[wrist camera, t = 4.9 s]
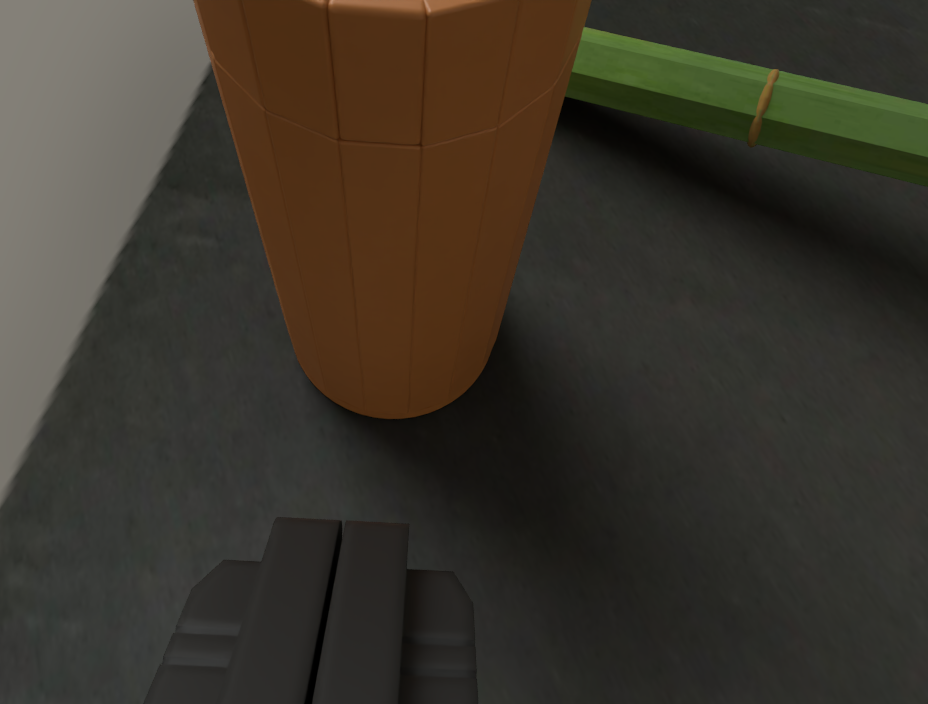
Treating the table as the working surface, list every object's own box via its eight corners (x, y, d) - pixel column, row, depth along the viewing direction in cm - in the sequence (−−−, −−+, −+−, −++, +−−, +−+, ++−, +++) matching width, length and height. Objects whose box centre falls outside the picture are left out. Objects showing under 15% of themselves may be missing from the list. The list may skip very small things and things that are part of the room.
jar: (443, 454, 23) (515, 86, 9) (253, 366, 24) (54, -104, 10) (525, 281, 25) (683, -225, 11) (349, 205, 26) (297, -368, 12)
